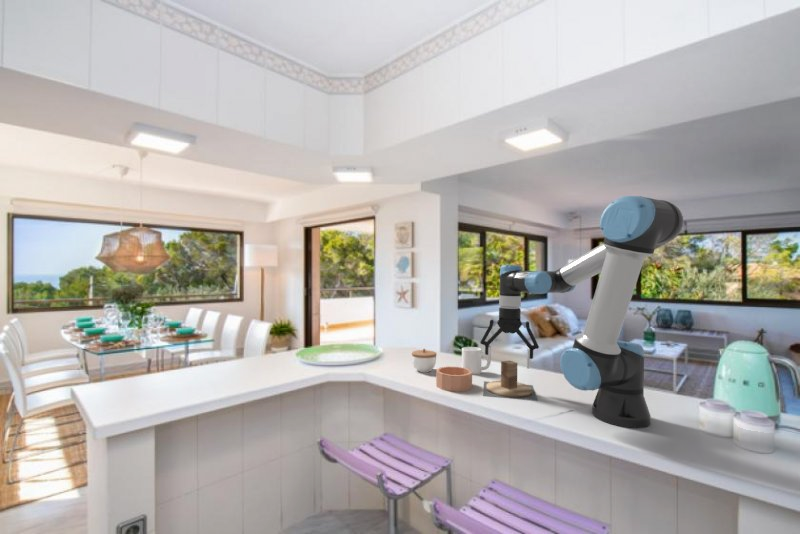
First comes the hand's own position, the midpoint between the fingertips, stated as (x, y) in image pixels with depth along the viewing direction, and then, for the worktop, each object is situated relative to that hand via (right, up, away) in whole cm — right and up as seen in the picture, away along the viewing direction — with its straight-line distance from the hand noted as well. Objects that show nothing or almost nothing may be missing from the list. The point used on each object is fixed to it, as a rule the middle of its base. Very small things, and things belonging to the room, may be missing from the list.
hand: (508, 365), depth 137 cm
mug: (-7, -10, +24) cm, 27 cm away
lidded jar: (-29, -9, +27) cm, 41 cm away
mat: (0, -9, 0) cm, 9 cm away
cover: (0, -9, 0) cm, 9 cm away
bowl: (-19, -9, +4) cm, 22 cm away
